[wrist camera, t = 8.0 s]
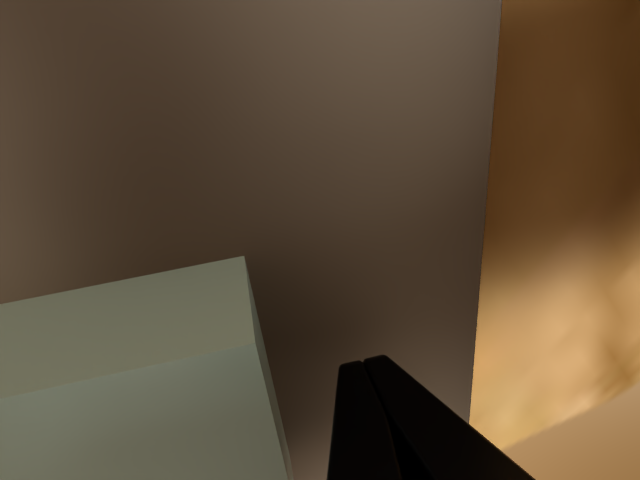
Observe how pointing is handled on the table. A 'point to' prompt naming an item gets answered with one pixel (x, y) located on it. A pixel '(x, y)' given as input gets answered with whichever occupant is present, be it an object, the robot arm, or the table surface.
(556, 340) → the table surface
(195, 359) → the sage tile
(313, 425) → the taupe pedestal platform
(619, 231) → the table surface
